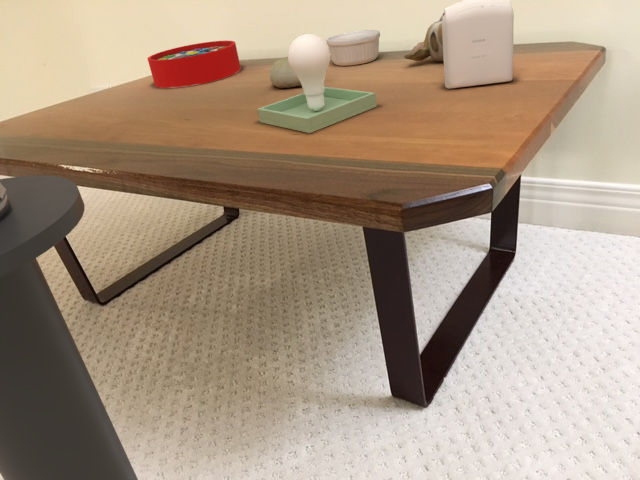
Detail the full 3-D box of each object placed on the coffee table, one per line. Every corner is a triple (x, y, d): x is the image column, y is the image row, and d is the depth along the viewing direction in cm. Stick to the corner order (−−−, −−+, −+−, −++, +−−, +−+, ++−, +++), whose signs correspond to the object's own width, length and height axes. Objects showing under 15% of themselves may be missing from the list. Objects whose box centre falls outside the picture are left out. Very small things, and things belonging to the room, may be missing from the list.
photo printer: (444, 91, 83) (441, 4, 77) (443, 84, 87) (440, 1, 81) (515, 83, 81) (517, -6, 75) (510, 76, 85) (512, -9, 79)
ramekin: (337, 57, 120) (334, 32, 118) (387, 53, 116) (384, 27, 114) (322, 69, 111) (318, 42, 109) (375, 65, 107) (372, 37, 105)
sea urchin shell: (305, 78, 96) (274, 47, 96) (285, 109, 102) (255, 79, 102) (330, 66, 103) (300, 36, 103) (310, 95, 108) (281, 67, 108)
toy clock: (128, 62, 120) (186, 43, 134) (136, 89, 122) (192, 67, 137) (197, 58, 110) (252, 38, 125) (204, 87, 113) (257, 64, 128)
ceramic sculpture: (491, 0, 99) (451, 21, 90) (492, 48, 103) (454, 73, 95) (439, 4, 106) (397, 24, 97) (443, 49, 110) (403, 72, 101)
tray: (309, 133, 74) (307, 118, 73) (259, 122, 83) (257, 108, 82) (376, 106, 81) (375, 92, 80) (324, 98, 90) (322, 86, 89)
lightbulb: (295, 119, 79) (282, 40, 74) (298, 108, 85) (286, 34, 79) (337, 113, 79) (326, 34, 73) (337, 102, 84) (327, 28, 79)
